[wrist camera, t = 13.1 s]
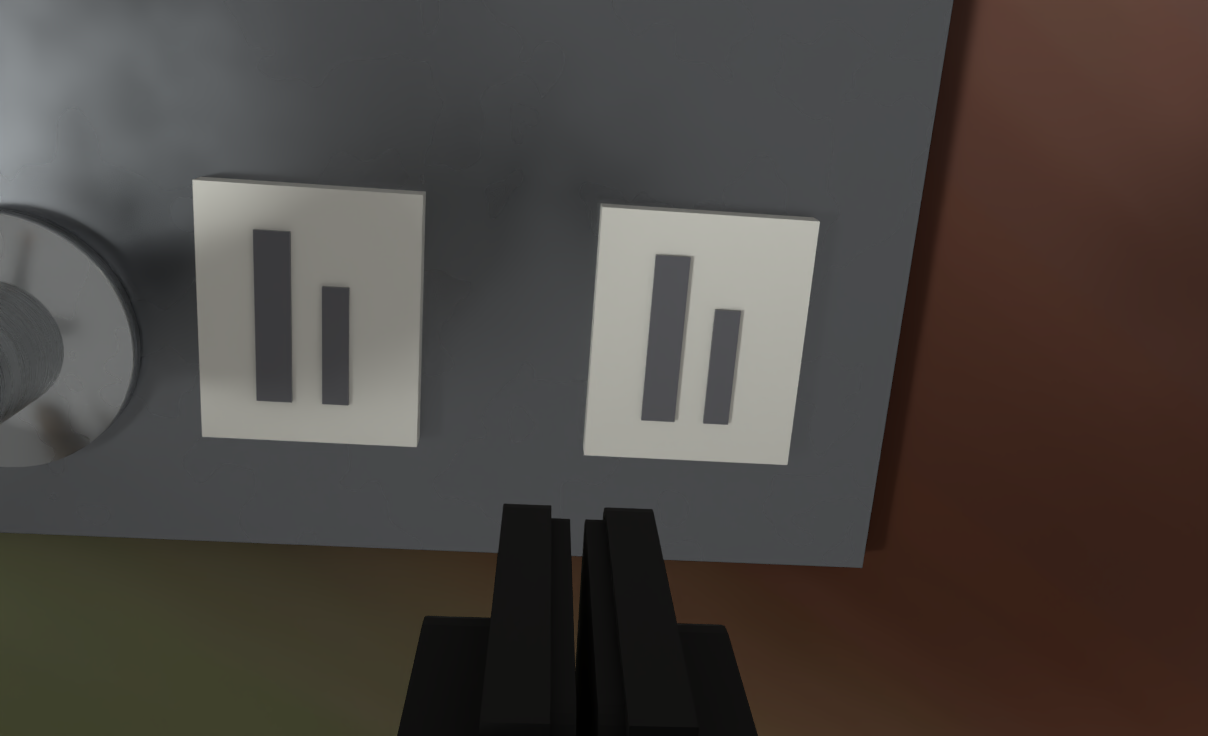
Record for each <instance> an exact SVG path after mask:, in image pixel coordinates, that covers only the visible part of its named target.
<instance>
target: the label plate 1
mask: <svg viewBox="0 0 1208 736" xmlns="http://www.w3.org/2000/svg"><path fill="white" fill-rule="evenodd" d="M192 184H193V211H194V237H195V264H196V290H197V316H198V343H199V369H200V396H201V422H202V437H217V438H238V439H258V440H279V441H300V442H320V443H341V444H362V445H383V446H403V447H417V445H418V442H419V438H420V401H421V361H422V322H423V283H424V244H425V205H426V192H424V191H409V190H394V189H379V188H364V187H349V186H334V185H319V184H304V183H289V182H274V181H259V180H244V179H229V178H214V177H199V178H196V179H193V180H192Z"/></svg>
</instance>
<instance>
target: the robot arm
mask: <svg viewBox="0 0 1208 736" xmlns="http://www.w3.org/2000/svg"><path fill="white" fill-rule="evenodd" d="M397 736H758V735H757V731H756V728H755V724H754V721H753V718H752V714H751V711H750V707H749V704H748V700H747V697H746V694H745V690H744V687H743V683H742V680H741V677H740V673H739V670H738V666H737V663H736V659H735V656H734V653H733V649H732V646H731V642H730V639H729V635H728V632H727V630H726V628H725V626H723V625H713V624H680V623H677V621H676V616H675V612H674V607H673V602H672V597H671V593H670V588H669V583H668V578H667V574H666V569H665V564H664V559H663V555H662V550H661V545H660V540H659V535H658V531H657V526H656V521H655V516H654V512H653V509H637V508H610V507H605V508H604V512H603V520H589V519H585V524H584V537H583V554H582V570H581V587H580V603H579V620H578V636H577V653H576V669H575V652H574V622H573V591H572V561H571V531H570V519H561V518H551V505H528V504H503V512H502V521H501V530H500V539H499V548H498V557H497V567H496V576H495V585H494V594H493V603H492V612H491V618H480V617H447V616H426V617H425V618H424V621H423V624H422V628H421V633H420V637H419V642H418V646H417V651H416V655H415V660H414V664H413V668H412V673H411V677H410V682H409V686H408V691H407V695H406V700H405V704H404V708H403V713H402V717H401V722H400V726H399V731H398V735H397Z"/></svg>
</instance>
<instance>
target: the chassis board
mask: <svg viewBox="0 0 1208 736" xmlns="http://www.w3.org/2000/svg"><path fill="white" fill-rule="evenodd" d="M952 6H953V0H0V208H1V209H9V210H15V211H19V212H23V213H27V214H31V215H34V216H37V217H40V218H42V219H45V220H48V221H50V222H52V223H54V224H56V225H58V226H60V227H62V228H64V229H66V230H67V231H69V232H70V233H72V234H73V235H75V236H76V237H78V238H79V239H81V240H82V241H83V242H85V243H86V244H87V245H88V246H89V247H91V248H92V249H93V250H94V251H95V252H96V253H97V254H98V255H99V256H100V257H101V258H102V259H103V260H104V261H105V262H106V263H107V264H108V265H109V267H110V268H111V269H112V271H113V272H114V273H115V275H116V276H117V278H118V279H119V280H120V282H121V284H122V286H123V287H124V289H125V291H126V293H127V294H128V296H129V299H130V301H131V304H132V306H133V309H134V311H135V314H136V318H137V322H138V326H139V331H140V339H141V363H140V369H139V376H138V379H137V382H136V385H135V388H134V391H133V393H132V395H131V397H130V399H129V401H128V403H127V405H126V406H125V408H124V409H123V411H122V412H121V414H120V415H119V417H118V418H117V419H116V420H115V421H114V422H113V423H112V424H111V425H110V426H109V427H108V428H107V429H106V430H105V431H104V432H103V433H101V434H100V435H99V436H98V437H97V438H96V439H94V440H93V441H92V442H90V443H89V444H88V445H87V446H85V447H84V448H82V449H80V450H78V451H77V452H75V453H73V454H71V455H69V456H67V457H64V458H62V459H59V460H57V461H53V462H49V463H46V464H42V465H35V466H28V467H0V532H2V533H26V534H51V535H75V536H100V537H124V538H148V539H173V540H197V541H221V542H246V543H270V544H295V545H319V546H343V547H368V548H392V549H417V550H441V551H465V552H490V553H498V548H499V539H500V530H501V521H502V512H503V504H528V505H551V518H561V519H570V531H571V556H582V554H583V537H584V524H585V519H589V520H603V512H604V508H605V507H610V508H637V509H653V512H654V516H655V521H656V526H657V531H658V535H659V540H660V545H661V550H662V555H663V559H664V560H685V561H709V562H734V563H758V564H782V565H807V566H831V567H855V568H862V566H863V560H864V554H865V547H866V541H867V535H868V529H869V522H870V516H871V510H872V504H873V497H874V491H875V485H876V479H877V473H878V466H879V460H880V454H881V448H882V441H883V435H884V429H885V423H886V417H887V410H888V404H889V398H890V392H891V385H892V379H893V373H894V367H895V361H896V354H897V348H898V342H899V336H900V329H901V323H902V317H903V311H904V305H905V298H906V292H907V286H908V280H909V273H910V267H911V261H912V255H913V248H914V242H915V236H916V230H917V224H918V217H919V211H920V205H921V199H922V192H923V186H924V180H925V174H926V168H927V161H928V155H929V149H930V143H931V136H932V130H933V124H934V118H935V112H936V105H937V99H938V93H939V87H940V80H941V74H942V68H943V62H944V56H945V49H946V43H947V37H948V31H949V24H950V18H951V12H952ZM199 177H214V178H229V179H244V180H259V181H274V182H289V183H304V184H319V185H334V186H349V187H364V188H379V189H394V190H409V191H424V192H426V205H425V244H424V283H423V322H422V361H421V401H420V438H419V442H418V445H417V447H403V446H383V445H362V444H341V443H320V442H300V441H279V440H258V439H238V438H217V437H202V422H201V396H200V369H199V343H198V316H197V290H196V264H195V237H194V211H193V184H192V180H193V179H196V178H199ZM601 203H604V204H619V205H634V206H649V207H664V208H679V209H694V210H710V211H725V212H740V213H755V214H770V215H785V216H800V217H814V218H815V219H817V220H818V221H820V225H819V232H818V240H817V247H816V255H815V262H814V270H813V277H812V285H811V292H810V300H809V307H808V315H807V322H806V329H805V337H804V344H803V352H802V359H801V367H800V374H799V382H798V389H797V397H796V404H795V412H794V419H793V427H792V434H791V442H790V449H789V457H788V464H787V465H776V464H755V463H734V462H714V461H693V460H672V459H652V458H631V457H610V456H589V455H584V451H583V439H584V426H585V412H586V398H587V385H588V371H589V357H590V344H591V330H592V317H593V303H594V289H595V276H596V262H597V248H598V235H599V221H600V207H601Z"/></svg>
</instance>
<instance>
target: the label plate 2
mask: <svg viewBox="0 0 1208 736" xmlns="http://www.w3.org/2000/svg"><path fill="white" fill-rule="evenodd" d="M819 225H820V221H818V220H817V219H815V218H814V217H800V216H785V215H770V214H755V213H740V212H725V211H710V210H694V209H679V208H664V207H649V206H634V205H619V204H604V203H601V207H600V221H599V235H598V248H597V262H596V276H595V289H594V303H593V317H592V330H591V344H590V357H589V371H588V385H587V398H586V412H585V426H584V439H583V451H584V455H589V456H610V457H631V458H652V459H672V460H693V461H714V462H734V463H755V464H776V465H787V464H788V457H789V449H790V442H791V434H792V427H793V419H794V412H795V404H796V397H797V389H798V382H799V374H800V367H801V359H802V352H803V344H804V337H805V329H806V322H807V315H808V307H809V300H810V292H811V285H812V277H813V270H814V262H815V255H816V247H817V240H818V232H819Z"/></svg>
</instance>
